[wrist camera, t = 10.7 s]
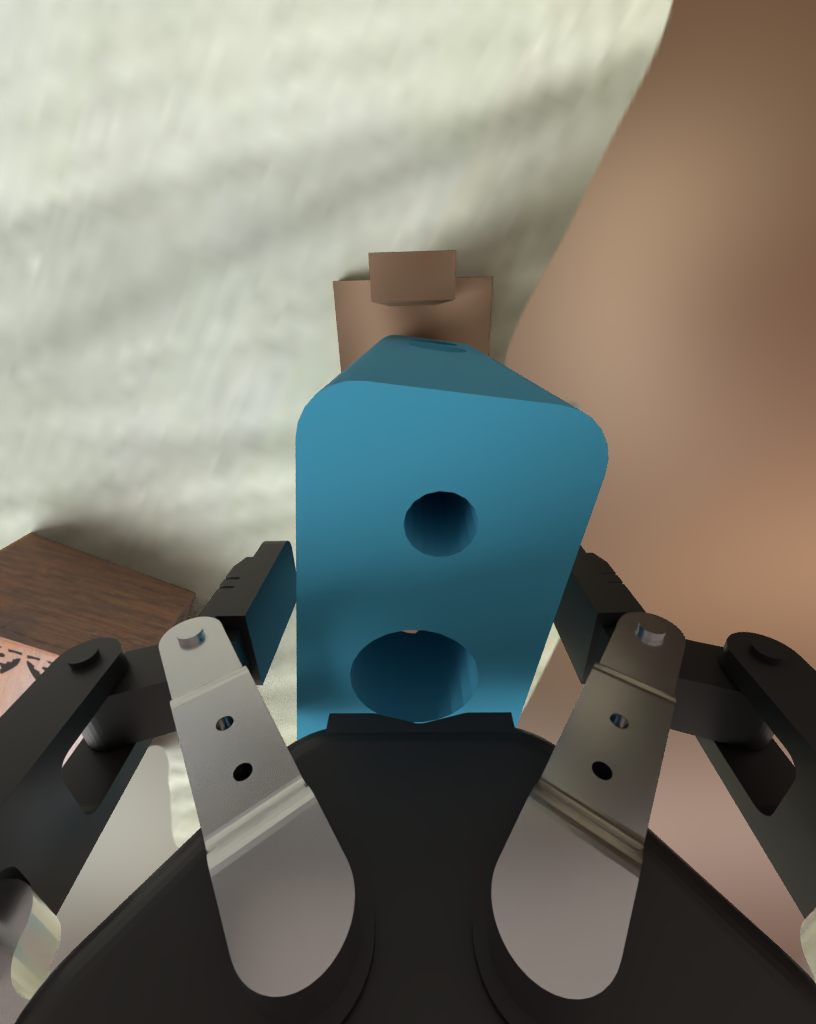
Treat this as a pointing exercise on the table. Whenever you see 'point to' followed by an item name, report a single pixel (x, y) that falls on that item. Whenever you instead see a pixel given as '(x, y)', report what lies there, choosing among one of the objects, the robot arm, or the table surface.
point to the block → (433, 532)
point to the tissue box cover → (73, 609)
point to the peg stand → (412, 304)
